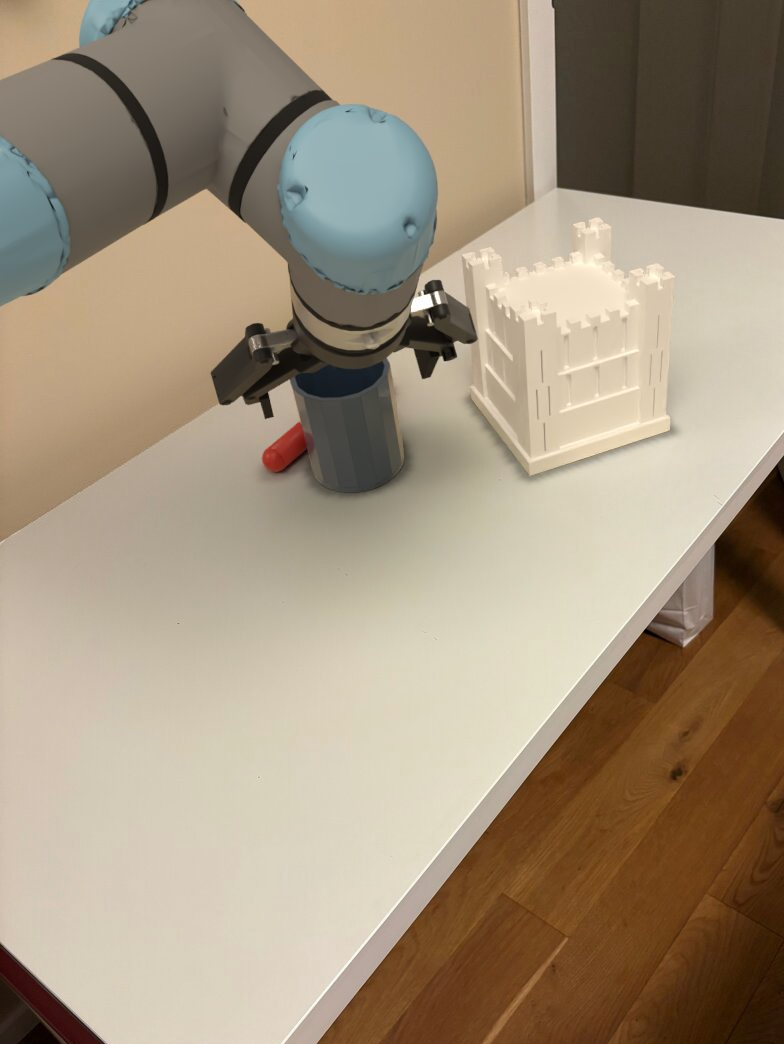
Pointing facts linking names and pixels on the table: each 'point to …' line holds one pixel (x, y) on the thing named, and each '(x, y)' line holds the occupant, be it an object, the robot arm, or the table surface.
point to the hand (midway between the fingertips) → (344, 382)
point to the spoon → (285, 449)
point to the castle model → (570, 351)
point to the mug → (350, 425)
